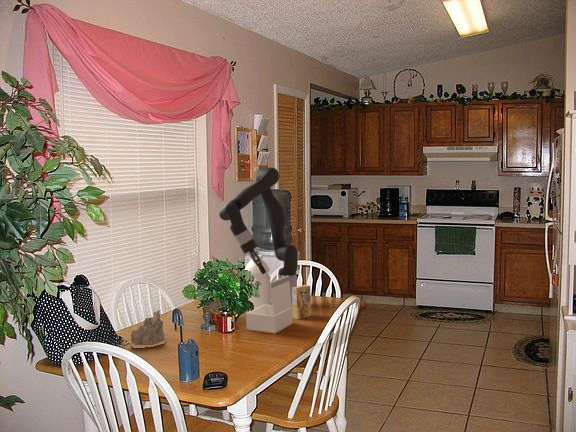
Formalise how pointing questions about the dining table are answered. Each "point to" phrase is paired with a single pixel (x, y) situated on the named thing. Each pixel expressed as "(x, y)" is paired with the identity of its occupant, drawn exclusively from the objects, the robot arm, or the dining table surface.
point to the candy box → (301, 302)
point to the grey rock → (149, 331)
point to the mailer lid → (280, 295)
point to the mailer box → (268, 319)
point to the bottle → (265, 283)
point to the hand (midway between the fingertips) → (264, 273)
